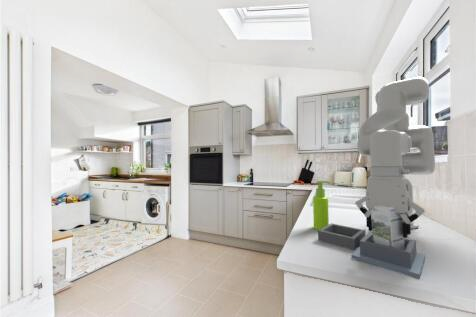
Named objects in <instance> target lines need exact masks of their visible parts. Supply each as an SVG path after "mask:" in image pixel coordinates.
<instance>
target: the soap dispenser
mask: <svg viewBox="0 0 476 317" xmlns="http://www.w3.org/2000/svg"><path fill="white" fill-rule="evenodd" d="M316 183H317V188H315V193H316V194H315V196H313V197H312V201H313V202H312V204H313V207H312V208H313V229H315V230H316V231H318V230H320V229H322V228H324V227H325V226H327V225H329V224H330V223H329V221H330V220H329V198H328V197H327V196H325V195H326V194H325V191H326V190H325V188H324V187H323V184H329V185H330V184H331V181H326V180H317V181H316Z"/></svg>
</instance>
